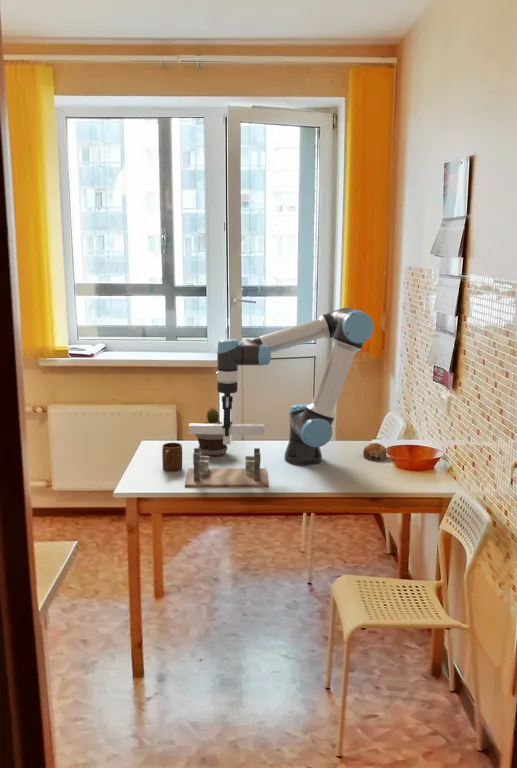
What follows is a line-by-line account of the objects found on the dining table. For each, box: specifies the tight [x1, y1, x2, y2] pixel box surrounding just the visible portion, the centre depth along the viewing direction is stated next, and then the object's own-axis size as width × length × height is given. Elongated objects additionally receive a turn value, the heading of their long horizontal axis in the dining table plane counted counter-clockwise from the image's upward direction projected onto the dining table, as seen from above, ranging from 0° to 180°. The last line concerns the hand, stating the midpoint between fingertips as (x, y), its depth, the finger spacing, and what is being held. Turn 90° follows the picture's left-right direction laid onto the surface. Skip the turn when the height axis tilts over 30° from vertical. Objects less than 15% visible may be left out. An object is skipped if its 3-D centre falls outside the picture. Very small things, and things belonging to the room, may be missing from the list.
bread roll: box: [362, 442, 388, 462], centre depth 274 cm, size 10×10×8 cm
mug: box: [161, 442, 183, 472], centre depth 253 cm, size 12×8×9 cm, turn 170°
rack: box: [184, 447, 270, 488], centre depth 245 cm, size 30×18×12 cm, turn 92°
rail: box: [188, 422, 265, 436], centre depth 247 cm, size 28×3×3 cm, turn 92°
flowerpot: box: [194, 406, 232, 458], centre depth 274 cm, size 14×15×20 cm
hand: (226, 442), depth 248 cm, fingers closed on rail, 3 cm apart
